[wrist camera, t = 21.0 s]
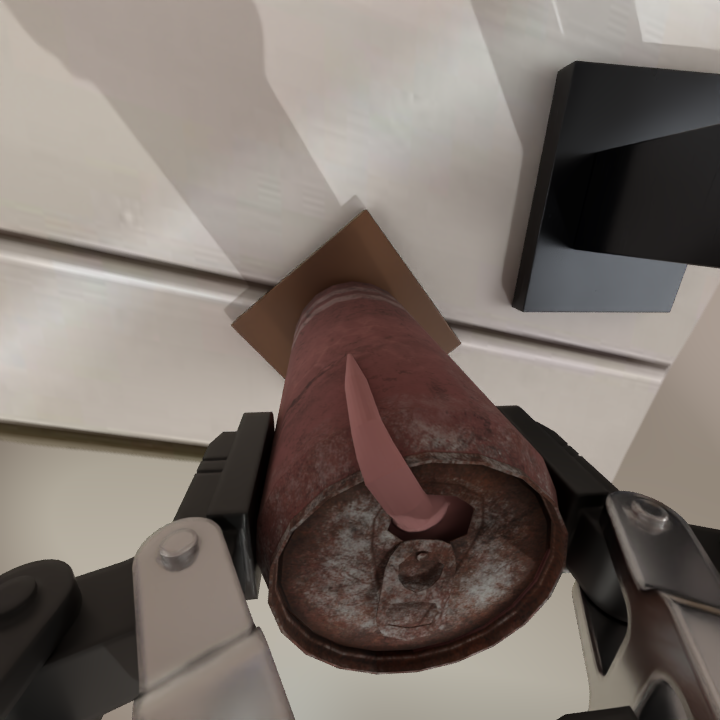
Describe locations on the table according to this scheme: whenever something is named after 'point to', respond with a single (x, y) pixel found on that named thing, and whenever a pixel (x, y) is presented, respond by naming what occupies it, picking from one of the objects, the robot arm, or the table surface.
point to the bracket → (623, 190)
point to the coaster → (331, 267)
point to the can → (398, 498)
